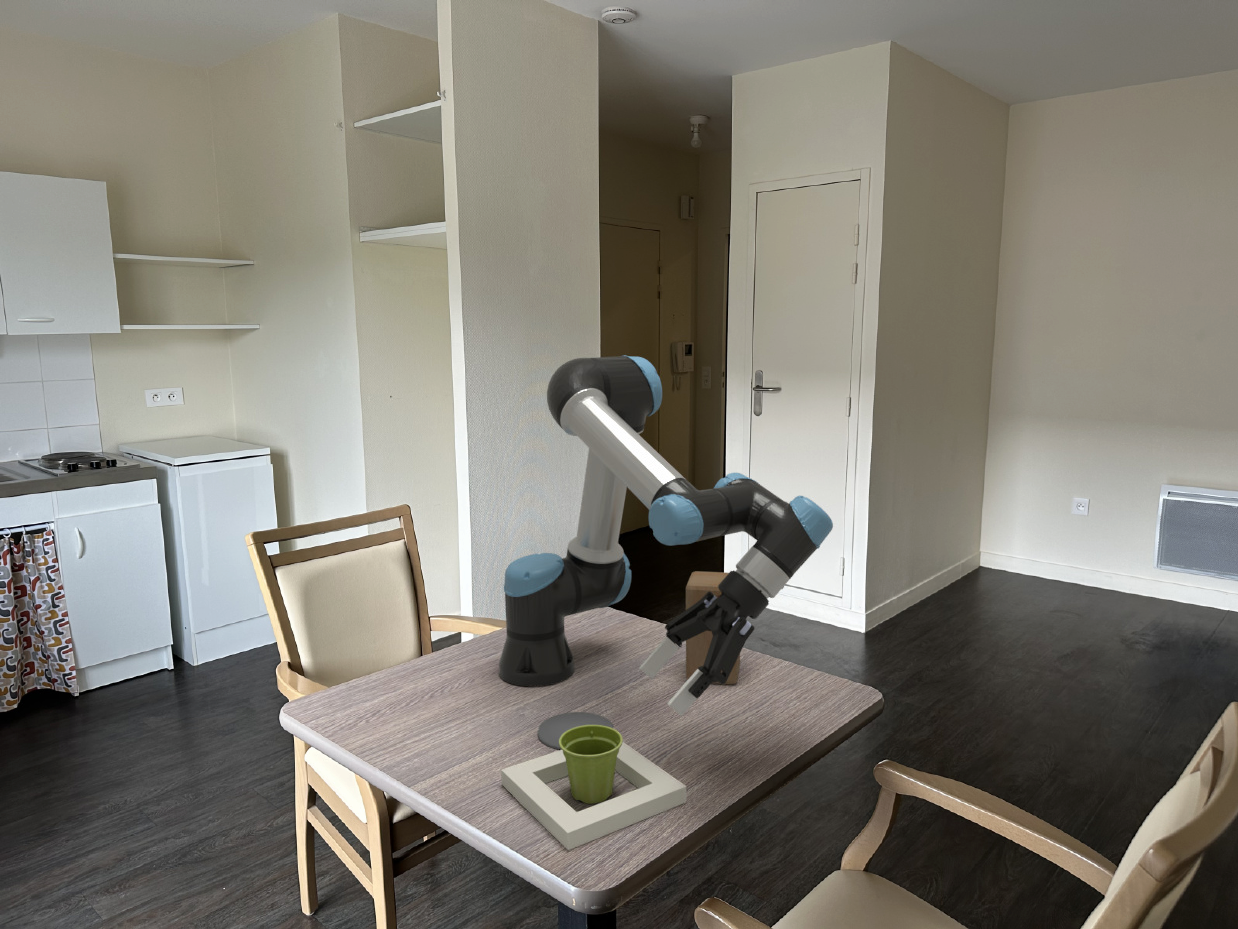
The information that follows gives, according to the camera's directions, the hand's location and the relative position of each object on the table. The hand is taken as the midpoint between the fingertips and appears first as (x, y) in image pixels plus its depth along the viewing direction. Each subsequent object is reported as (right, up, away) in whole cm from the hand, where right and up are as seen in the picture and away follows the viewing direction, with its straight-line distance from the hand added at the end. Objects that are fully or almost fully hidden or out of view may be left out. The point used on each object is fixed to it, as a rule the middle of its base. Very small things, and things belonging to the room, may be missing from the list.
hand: (659, 691), depth 127 cm
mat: (-13, -12, +19) cm, 26 cm away
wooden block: (+13, -8, +42) cm, 45 cm away
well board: (-10, -15, -1) cm, 18 cm away
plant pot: (-10, -15, 0) cm, 18 cm away
